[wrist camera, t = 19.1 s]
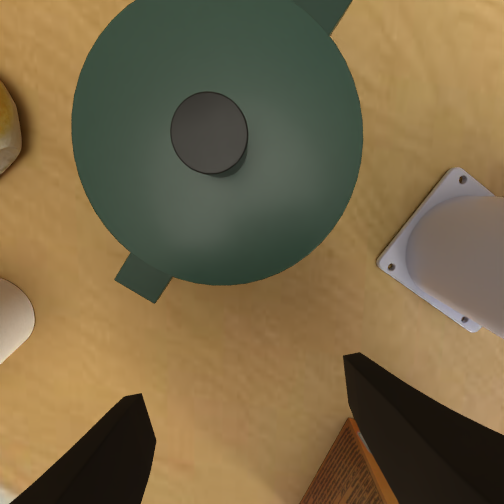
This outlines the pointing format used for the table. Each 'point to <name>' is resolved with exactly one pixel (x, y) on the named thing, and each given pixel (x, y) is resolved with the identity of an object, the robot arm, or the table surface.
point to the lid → (217, 135)
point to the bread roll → (8, 130)
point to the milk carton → (349, 474)
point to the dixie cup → (14, 318)
